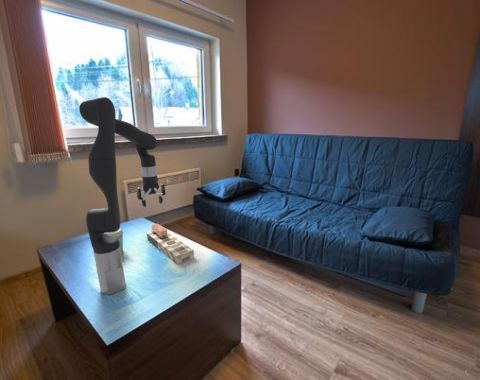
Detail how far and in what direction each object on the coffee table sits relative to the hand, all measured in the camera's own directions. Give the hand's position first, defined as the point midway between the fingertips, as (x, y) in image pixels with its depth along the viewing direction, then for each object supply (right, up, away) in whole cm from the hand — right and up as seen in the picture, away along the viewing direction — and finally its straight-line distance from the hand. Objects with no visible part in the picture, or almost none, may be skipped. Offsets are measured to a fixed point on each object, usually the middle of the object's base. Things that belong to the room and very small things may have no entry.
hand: (152, 204), depth 138 cm
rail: (+9, -22, -1) cm, 24 cm away
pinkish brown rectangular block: (+2, -21, +6) cm, 22 cm away
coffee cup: (-17, -24, -4) cm, 30 cm away
